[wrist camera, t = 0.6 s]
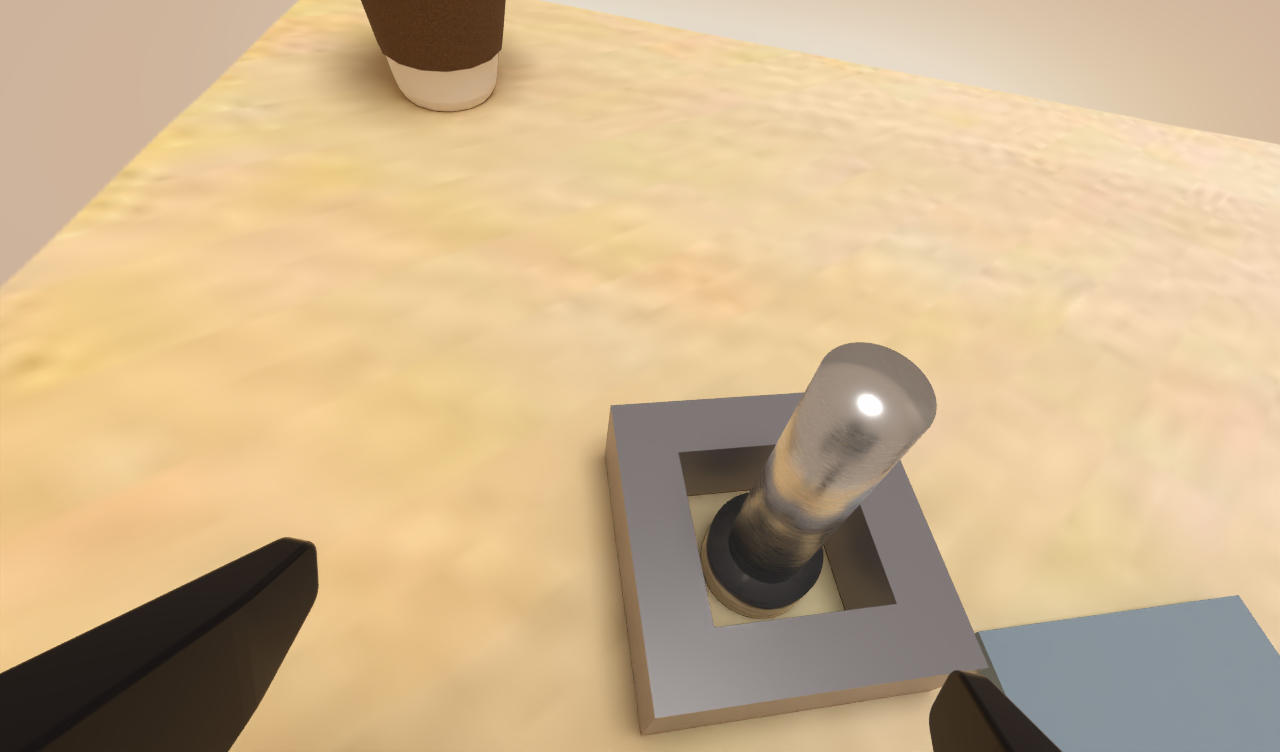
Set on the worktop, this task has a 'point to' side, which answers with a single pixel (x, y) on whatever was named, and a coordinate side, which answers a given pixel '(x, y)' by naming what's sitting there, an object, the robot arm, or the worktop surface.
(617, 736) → the worktop surface
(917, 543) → the socket block
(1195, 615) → the mat
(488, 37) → the coffee cup
